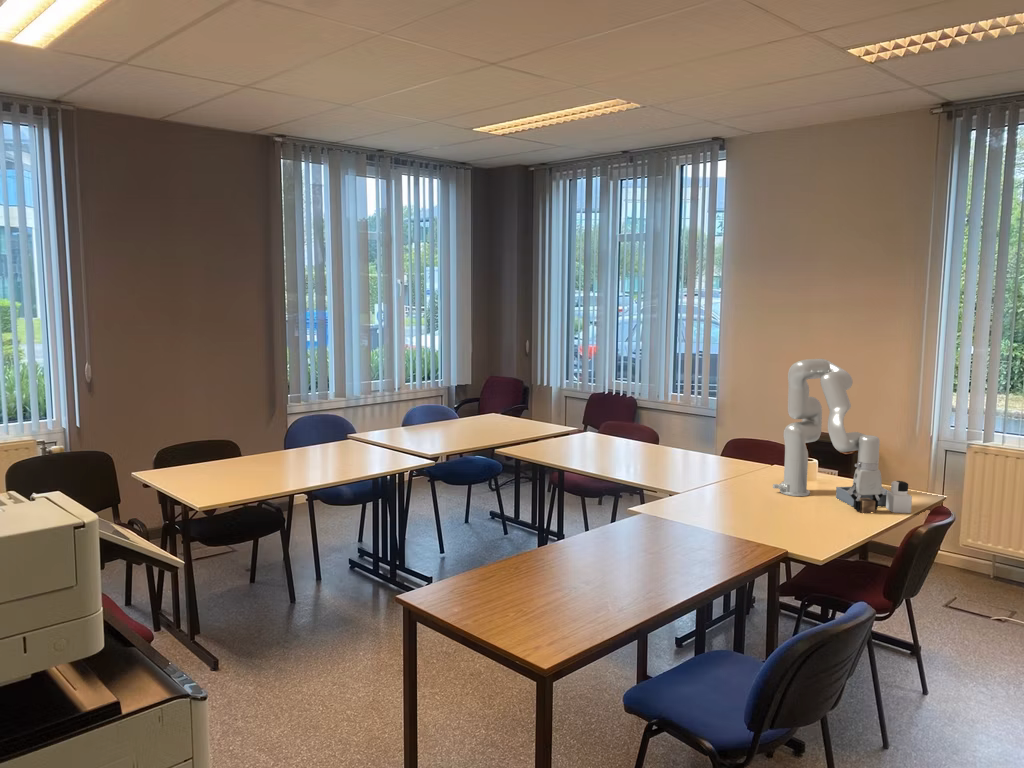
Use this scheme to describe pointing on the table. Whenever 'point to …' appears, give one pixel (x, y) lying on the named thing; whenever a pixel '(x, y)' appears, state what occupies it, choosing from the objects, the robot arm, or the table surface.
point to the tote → (845, 497)
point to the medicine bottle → (899, 498)
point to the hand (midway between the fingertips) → (865, 509)
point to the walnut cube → (867, 505)
